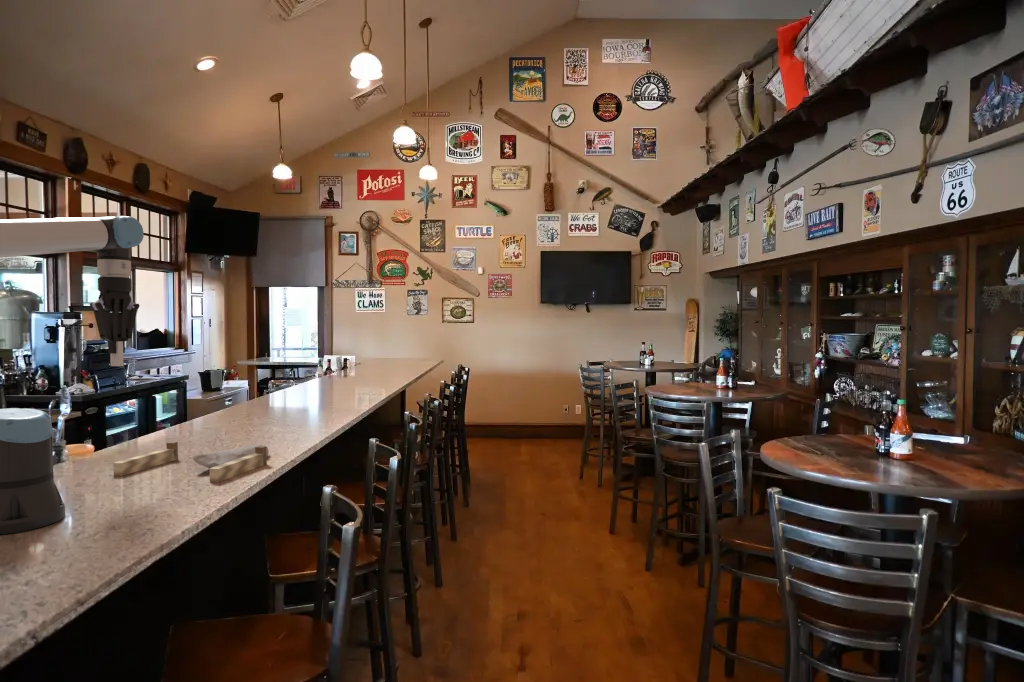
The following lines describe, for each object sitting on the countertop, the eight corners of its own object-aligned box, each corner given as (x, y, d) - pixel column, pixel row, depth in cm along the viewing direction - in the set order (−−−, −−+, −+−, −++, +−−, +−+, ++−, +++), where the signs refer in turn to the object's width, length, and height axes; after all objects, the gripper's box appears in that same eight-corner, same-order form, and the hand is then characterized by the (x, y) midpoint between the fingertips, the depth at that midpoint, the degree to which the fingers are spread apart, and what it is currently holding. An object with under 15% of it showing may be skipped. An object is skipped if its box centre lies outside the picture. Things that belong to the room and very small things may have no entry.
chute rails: (218, 482, 160) (217, 462, 159) (113, 475, 168) (113, 456, 168) (266, 464, 179) (266, 446, 179) (171, 458, 187) (170, 441, 187)
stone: (224, 480, 166) (283, 459, 190) (225, 462, 166) (284, 443, 190) (186, 470, 170) (249, 451, 194) (187, 452, 169) (250, 435, 193)
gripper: (103, 274, 157) (105, 367, 158) (146, 278, 169) (149, 364, 170) (80, 275, 159) (83, 367, 160) (125, 278, 171) (127, 364, 172)
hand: (117, 365), depth 165 cm, fingers closed
